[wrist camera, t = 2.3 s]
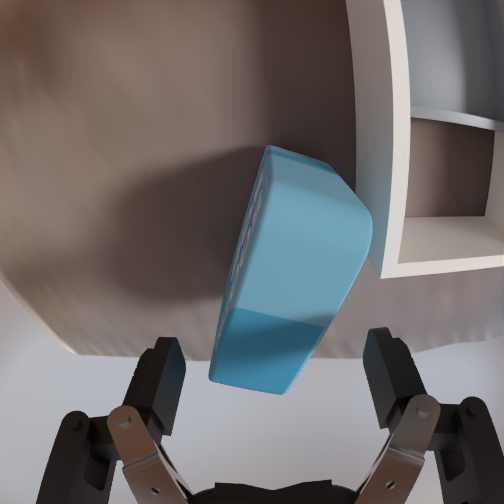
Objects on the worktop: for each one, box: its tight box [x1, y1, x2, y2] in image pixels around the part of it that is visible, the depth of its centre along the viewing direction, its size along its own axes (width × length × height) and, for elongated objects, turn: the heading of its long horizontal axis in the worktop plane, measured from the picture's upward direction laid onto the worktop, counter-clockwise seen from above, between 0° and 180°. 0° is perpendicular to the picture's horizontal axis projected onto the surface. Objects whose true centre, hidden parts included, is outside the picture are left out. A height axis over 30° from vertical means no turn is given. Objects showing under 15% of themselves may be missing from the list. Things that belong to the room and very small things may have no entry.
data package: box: [209, 145, 373, 395], centre depth 18 cm, size 12×4×12 cm, turn 164°
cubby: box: [345, 0, 504, 279], centre depth 14 cm, size 15×22×7 cm
